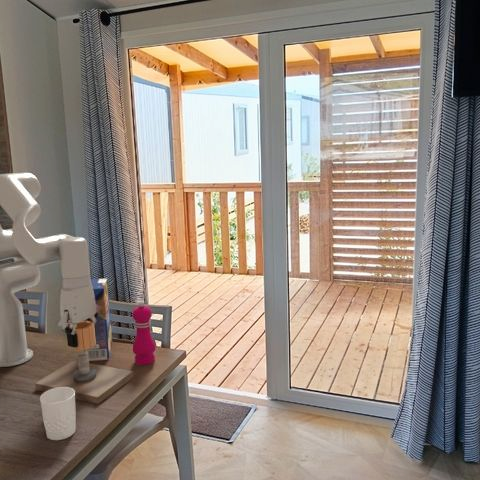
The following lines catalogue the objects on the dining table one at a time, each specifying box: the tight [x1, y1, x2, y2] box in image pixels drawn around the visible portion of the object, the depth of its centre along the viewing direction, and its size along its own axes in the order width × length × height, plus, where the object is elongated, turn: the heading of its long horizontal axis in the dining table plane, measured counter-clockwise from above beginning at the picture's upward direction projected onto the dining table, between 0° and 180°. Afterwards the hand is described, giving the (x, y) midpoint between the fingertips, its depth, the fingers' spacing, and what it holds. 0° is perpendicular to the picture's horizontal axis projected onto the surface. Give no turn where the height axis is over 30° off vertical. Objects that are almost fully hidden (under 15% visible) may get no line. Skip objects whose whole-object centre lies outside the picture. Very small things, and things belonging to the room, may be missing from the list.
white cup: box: [39, 387, 77, 441], centre depth 117 cm, size 8×8×10 cm
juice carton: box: [84, 277, 113, 362], centre depth 161 cm, size 12×8×24 cm, turn 9°
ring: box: [69, 321, 96, 351], centre depth 139 cm, size 7×7×6 cm
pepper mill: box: [132, 300, 157, 366], centre depth 155 cm, size 7×7×20 cm
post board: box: [34, 352, 134, 405], centre depth 142 cm, size 22×16×9 cm
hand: (82, 340), depth 140 cm, fingers closed on ring, 7 cm apart
